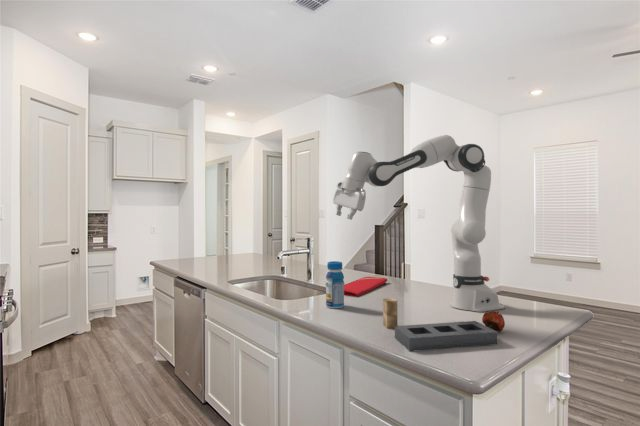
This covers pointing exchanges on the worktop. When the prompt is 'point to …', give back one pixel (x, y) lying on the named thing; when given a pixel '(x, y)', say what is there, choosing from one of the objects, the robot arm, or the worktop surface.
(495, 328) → the pomegranate
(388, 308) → the oak peg
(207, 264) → the worktop surface
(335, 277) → the beverage bottle
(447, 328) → the gray socket block
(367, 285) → the dish drying mat
